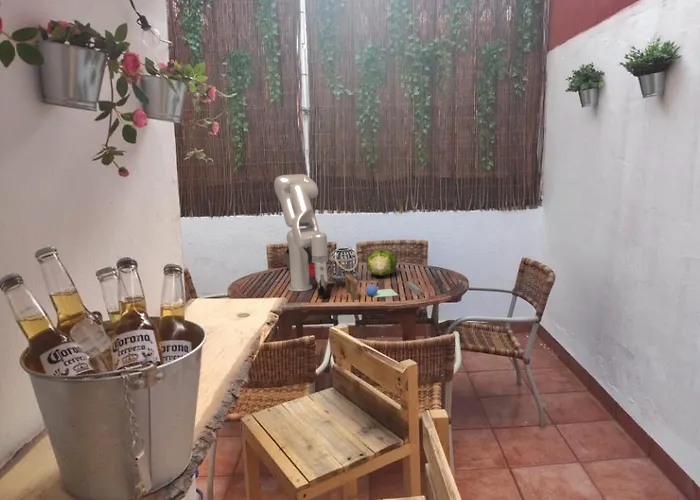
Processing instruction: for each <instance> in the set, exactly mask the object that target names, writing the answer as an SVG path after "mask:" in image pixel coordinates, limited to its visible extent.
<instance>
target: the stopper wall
mask: <svg viewBox="0 0 700 500" xmlns="http://www.w3.org/2000/svg"><path fill="white" fill-rule="evenodd" d="M406 287H407V288H408V289H410V291H411V292H413V293H415V294H416V296H418V295H419V296H420V295H422V290H421V288H419V286H417V285H416V284H414V283H413V282H412V281H406Z"/></svg>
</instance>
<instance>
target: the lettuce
mask: <svg viewBox="0 0 700 500" xmlns="http://www.w3.org/2000/svg"><path fill="white" fill-rule="evenodd" d="M397 264H398V260H397V256H396V254H395V253H394V252H393V251H392V250H390V249H386V248H385V249H384V248H383V249H376V250H375V251H373V252H372V253H370V254H369V256H368V257H367V260H366V266H367V269H368V271H369V272H370V273H371V274H373V275H375V276H380V277H383V276H384V277H385V276H389V275H390V274H393V273H394V271H395V270H396V267H397Z"/></svg>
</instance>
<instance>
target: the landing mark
mask: <svg viewBox="0 0 700 500" xmlns="http://www.w3.org/2000/svg"><path fill="white" fill-rule="evenodd" d="M377 290H378V291H377V294H376V295H374V296H373V298H383V297H393V296H399V294H398V293H397V292H395V291H394V290H393V288H386V289H385V288H383V289H377Z"/></svg>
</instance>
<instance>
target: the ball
mask: <svg viewBox="0 0 700 500" xmlns="http://www.w3.org/2000/svg"><path fill="white" fill-rule="evenodd" d="M378 290H379V289H378V287H377V286H376V285H375V284H369V285H367V287H366V288H365V292H366V295H368V296H369V297H374V295H376V294H377V291H378Z"/></svg>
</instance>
